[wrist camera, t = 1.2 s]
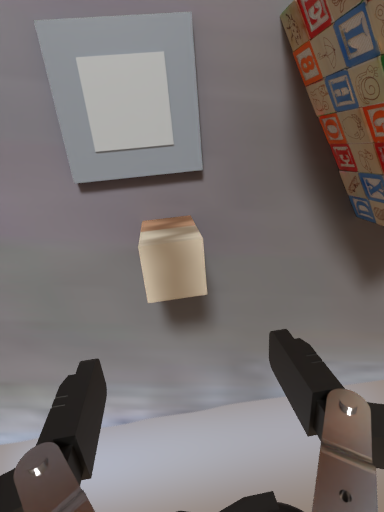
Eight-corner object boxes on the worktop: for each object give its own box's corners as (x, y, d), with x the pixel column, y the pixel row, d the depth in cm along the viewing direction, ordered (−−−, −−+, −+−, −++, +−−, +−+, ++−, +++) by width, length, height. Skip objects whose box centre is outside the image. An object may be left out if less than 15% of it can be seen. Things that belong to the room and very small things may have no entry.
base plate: (189, 17, 22) (191, 10, 21) (201, 169, 27) (203, 170, 26) (38, 26, 21) (33, 19, 20) (76, 182, 26) (73, 183, 25)
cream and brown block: (190, 215, 28) (202, 238, 21) (194, 259, 30) (207, 294, 23) (142, 221, 28) (138, 246, 21) (149, 265, 30) (148, 303, 23)
